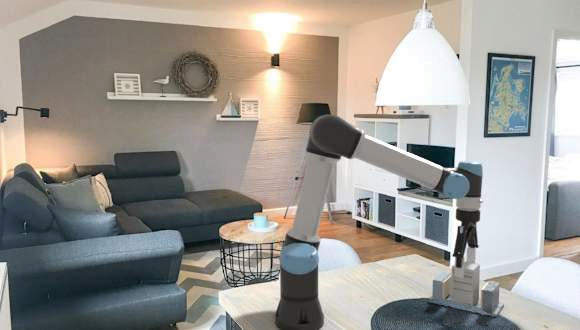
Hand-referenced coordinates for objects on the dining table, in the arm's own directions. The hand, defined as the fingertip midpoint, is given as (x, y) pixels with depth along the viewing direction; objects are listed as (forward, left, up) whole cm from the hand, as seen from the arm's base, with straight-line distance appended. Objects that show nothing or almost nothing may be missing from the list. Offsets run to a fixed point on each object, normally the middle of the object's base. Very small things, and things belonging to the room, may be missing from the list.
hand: (464, 271), depth 160 cm
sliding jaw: (0, +7, -10) cm, 12 cm away
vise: (0, 0, -11) cm, 11 cm away
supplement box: (0, 0, -11) cm, 11 cm away
